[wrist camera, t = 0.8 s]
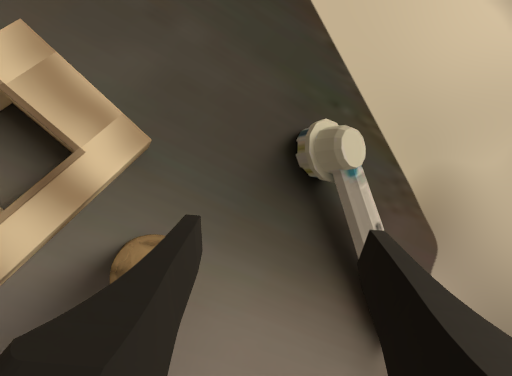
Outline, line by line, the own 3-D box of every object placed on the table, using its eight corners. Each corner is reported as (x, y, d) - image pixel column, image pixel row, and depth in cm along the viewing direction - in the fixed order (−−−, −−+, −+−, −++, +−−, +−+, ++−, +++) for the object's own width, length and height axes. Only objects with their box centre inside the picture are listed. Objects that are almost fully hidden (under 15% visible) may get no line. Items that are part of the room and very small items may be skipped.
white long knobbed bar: (404, 359, 29) (332, 121, 23) (352, 329, 34) (285, 133, 29) (431, 327, 31) (372, 103, 25) (378, 303, 37) (321, 118, 31)
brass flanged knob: (146, 303, 22) (155, 329, 17) (97, 267, 21) (90, 283, 16) (185, 255, 24) (205, 265, 18) (142, 219, 23) (150, 219, 17)
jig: (-8, 293, 18) (-27, 304, 16) (-195, 175, 15) (-253, 167, 13) (148, 147, 23) (152, 138, 21) (30, 39, 21) (18, 15, 18)
